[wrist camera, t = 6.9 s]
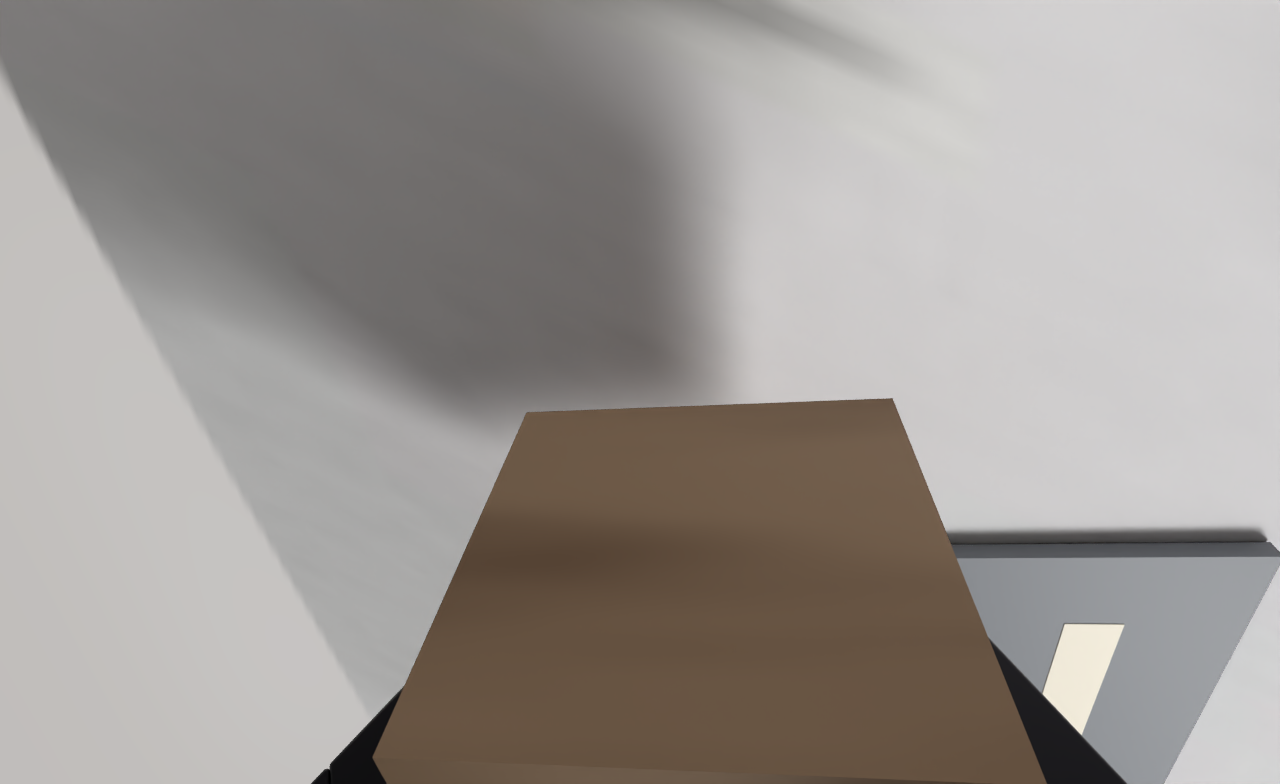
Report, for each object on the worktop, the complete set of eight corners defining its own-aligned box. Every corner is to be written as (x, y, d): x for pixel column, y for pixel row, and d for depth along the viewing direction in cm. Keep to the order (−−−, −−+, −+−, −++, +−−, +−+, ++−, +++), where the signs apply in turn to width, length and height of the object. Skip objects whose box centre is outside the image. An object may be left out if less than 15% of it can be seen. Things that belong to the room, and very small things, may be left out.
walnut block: (868, 647, 11) (953, 1041, 7) (581, 642, 12) (507, 999, 8) (892, 398, 9) (1048, 787, 5) (526, 412, 10) (371, 757, 5)
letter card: (1126, 823, 19) (1134, 840, 19) (738, 805, 21) (738, 819, 20) (1269, 541, 14) (1284, 557, 13) (720, 546, 15) (720, 560, 15)
